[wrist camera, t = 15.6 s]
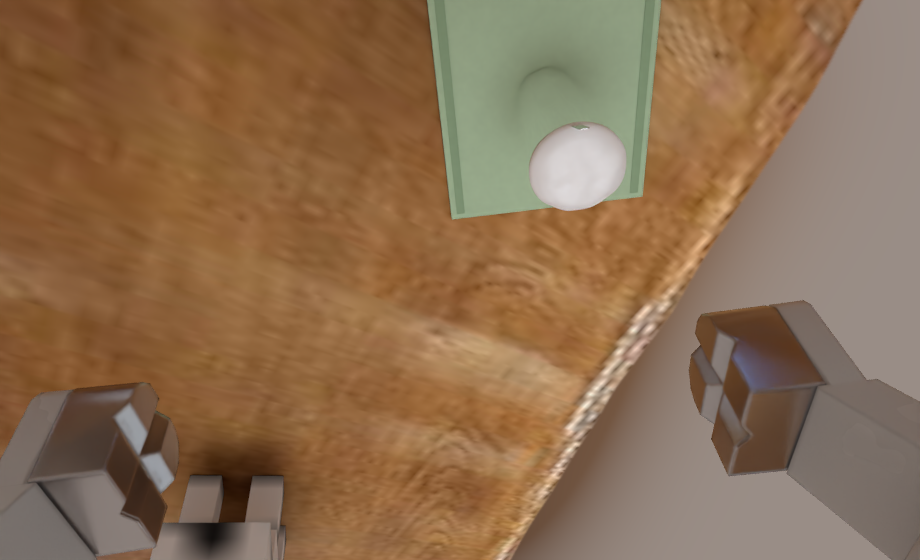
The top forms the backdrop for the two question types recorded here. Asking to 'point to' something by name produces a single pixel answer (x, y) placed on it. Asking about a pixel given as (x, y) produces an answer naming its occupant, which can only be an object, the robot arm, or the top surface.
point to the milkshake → (567, 143)
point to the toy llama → (225, 524)
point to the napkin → (505, 69)
